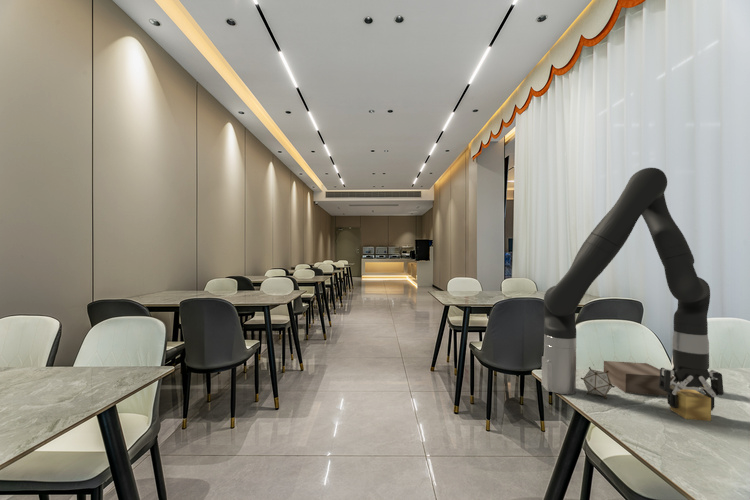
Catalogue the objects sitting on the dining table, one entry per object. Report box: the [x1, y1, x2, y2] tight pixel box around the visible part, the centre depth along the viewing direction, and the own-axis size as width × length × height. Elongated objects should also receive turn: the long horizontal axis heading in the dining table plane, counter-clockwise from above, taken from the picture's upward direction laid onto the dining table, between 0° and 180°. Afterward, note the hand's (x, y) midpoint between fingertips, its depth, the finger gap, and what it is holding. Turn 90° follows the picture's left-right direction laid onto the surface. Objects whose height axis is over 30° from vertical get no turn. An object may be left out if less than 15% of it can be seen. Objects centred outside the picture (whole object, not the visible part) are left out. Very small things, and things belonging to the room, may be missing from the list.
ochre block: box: [669, 389, 712, 422], centre depth 97 cm, size 6×6×6 cm
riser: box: [603, 360, 674, 396], centre depth 118 cm, size 14×14×6 cm
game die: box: [580, 366, 616, 400], centre depth 109 cm, size 9×8×10 cm
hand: (690, 408), depth 97 cm, fingers open, 8 cm apart
